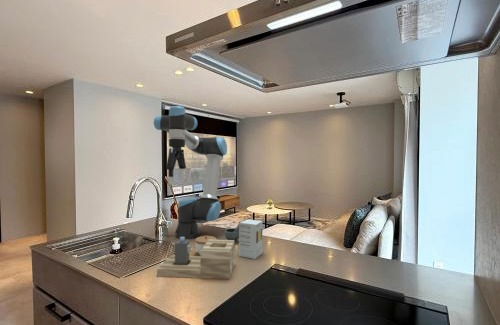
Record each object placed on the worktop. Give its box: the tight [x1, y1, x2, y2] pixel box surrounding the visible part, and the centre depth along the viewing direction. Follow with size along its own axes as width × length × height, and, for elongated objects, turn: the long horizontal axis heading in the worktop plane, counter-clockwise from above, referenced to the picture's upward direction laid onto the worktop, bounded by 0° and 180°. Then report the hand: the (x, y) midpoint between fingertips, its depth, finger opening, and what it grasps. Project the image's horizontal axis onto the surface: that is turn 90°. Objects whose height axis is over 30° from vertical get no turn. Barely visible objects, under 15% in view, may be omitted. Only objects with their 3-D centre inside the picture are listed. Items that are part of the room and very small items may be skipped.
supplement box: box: [238, 219, 264, 260], centre depth 130 cm, size 10×9×17 cm
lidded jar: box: [194, 235, 217, 256], centre depth 131 cm, size 11×11×9 cm
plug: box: [174, 237, 191, 265], centre depth 112 cm, size 4×6×14 cm
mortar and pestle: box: [224, 221, 241, 245], centre depth 150 cm, size 11×9×12 cm
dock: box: [156, 239, 235, 280], centre depth 112 cm, size 15×30×11 cm, turn 87°
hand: (176, 182), depth 124 cm, fingers open, 13 cm apart
